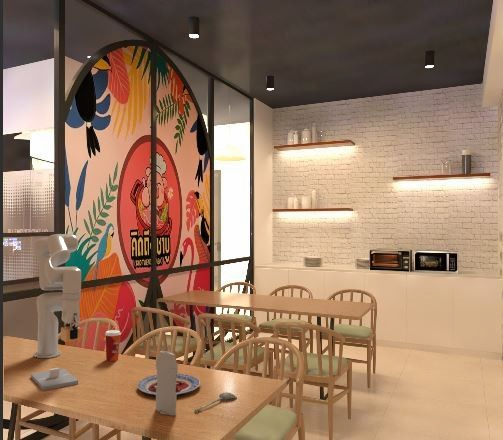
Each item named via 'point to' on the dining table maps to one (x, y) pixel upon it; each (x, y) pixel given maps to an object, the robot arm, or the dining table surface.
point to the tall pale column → (166, 383)
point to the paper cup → (112, 345)
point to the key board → (54, 379)
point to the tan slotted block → (66, 334)
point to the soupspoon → (222, 396)
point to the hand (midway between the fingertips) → (70, 336)
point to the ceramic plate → (182, 384)
